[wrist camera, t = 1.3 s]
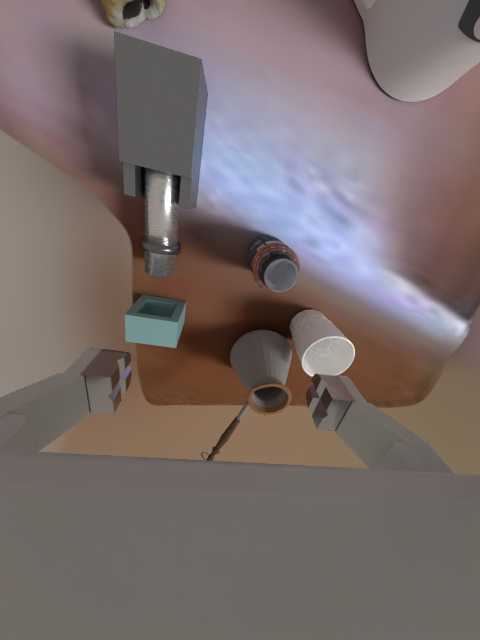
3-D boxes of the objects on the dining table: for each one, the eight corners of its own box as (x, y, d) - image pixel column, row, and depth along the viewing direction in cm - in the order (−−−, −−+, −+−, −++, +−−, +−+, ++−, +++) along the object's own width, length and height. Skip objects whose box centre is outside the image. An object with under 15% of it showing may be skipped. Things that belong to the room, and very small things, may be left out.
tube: (148, 95, 25) (130, 73, 20) (195, 109, 26) (188, 90, 21) (146, 263, 34) (133, 274, 29) (181, 270, 34) (174, 281, 30)
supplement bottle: (274, 278, 37) (291, 308, 27) (240, 265, 36) (246, 291, 26) (291, 243, 35) (317, 262, 25) (256, 228, 33) (268, 241, 23)
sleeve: (143, 74, 25) (114, 31, 18) (207, 93, 26) (201, 59, 20) (143, 195, 31) (120, 194, 24) (196, 207, 32) (187, 209, 25)
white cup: (320, 344, 44) (343, 380, 35) (281, 340, 43) (295, 376, 34) (334, 308, 40) (364, 339, 32) (292, 303, 40) (311, 333, 31)
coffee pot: (257, 311, 40) (271, 366, 27) (300, 344, 44) (331, 406, 31) (188, 381, 47) (174, 452, 34) (231, 404, 51) (232, 476, 38)
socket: (142, 294, 37) (124, 314, 31) (186, 301, 38) (177, 322, 32) (142, 317, 39) (125, 341, 33) (184, 323, 40) (175, 348, 34)
